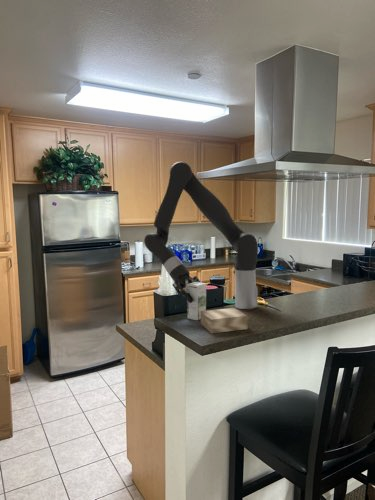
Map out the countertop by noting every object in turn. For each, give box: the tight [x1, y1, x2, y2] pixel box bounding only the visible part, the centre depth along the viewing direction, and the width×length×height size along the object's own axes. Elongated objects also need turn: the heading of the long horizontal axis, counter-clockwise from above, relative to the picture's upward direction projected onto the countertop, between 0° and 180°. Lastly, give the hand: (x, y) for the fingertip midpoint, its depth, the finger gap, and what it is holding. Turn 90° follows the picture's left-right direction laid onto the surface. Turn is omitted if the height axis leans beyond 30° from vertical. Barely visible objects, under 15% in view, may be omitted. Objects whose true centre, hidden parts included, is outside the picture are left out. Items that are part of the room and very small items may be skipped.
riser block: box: [200, 307, 248, 334], centre depth 136 cm, size 14×12×5 cm
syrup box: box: [186, 281, 207, 321], centre depth 147 cm, size 6×6×14 cm
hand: (198, 299), depth 147 cm, fingers open, 8 cm apart
